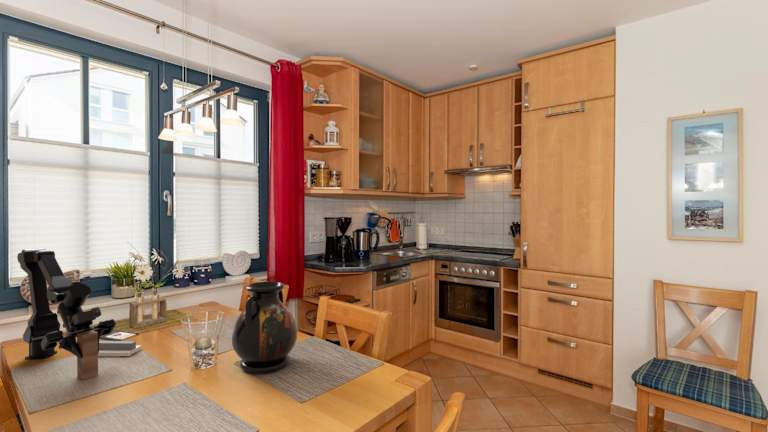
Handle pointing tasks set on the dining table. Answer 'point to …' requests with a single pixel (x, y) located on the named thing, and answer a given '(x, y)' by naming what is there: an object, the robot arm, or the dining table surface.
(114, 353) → the board
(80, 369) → the walnut baton
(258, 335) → the amphora vase
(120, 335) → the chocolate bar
